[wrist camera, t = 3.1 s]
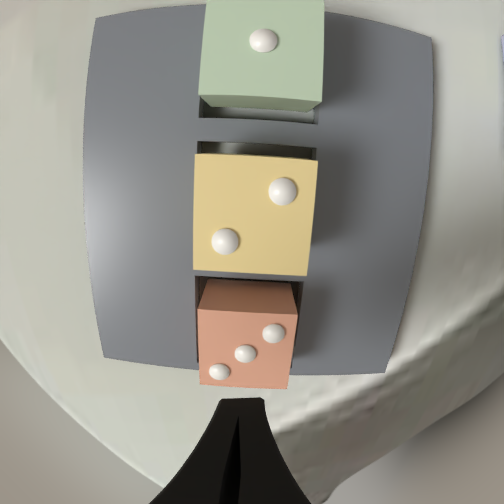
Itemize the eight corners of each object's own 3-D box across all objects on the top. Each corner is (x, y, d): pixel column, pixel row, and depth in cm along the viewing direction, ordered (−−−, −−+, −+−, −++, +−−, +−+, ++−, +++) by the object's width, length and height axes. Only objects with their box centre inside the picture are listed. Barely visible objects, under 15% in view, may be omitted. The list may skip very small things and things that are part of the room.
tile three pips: (290, 283, 16) (298, 315, 13) (282, 350, 17) (287, 390, 14) (208, 278, 16) (197, 310, 13) (208, 346, 17) (199, 385, 14)
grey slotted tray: (420, 43, 12) (431, 37, 11) (378, 360, 18) (384, 372, 17) (105, 25, 12) (95, 18, 11) (111, 346, 18) (104, 357, 16)
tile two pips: (303, 158, 13) (318, 161, 10) (296, 248, 14) (306, 277, 11) (208, 152, 13) (194, 153, 10) (205, 243, 14) (192, 270, 11)
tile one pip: (310, 28, 11) (324, -2, 8) (306, 112, 13) (322, 101, 9) (217, 23, 11) (207, -9, 8) (211, 106, 13) (197, 94, 9)
